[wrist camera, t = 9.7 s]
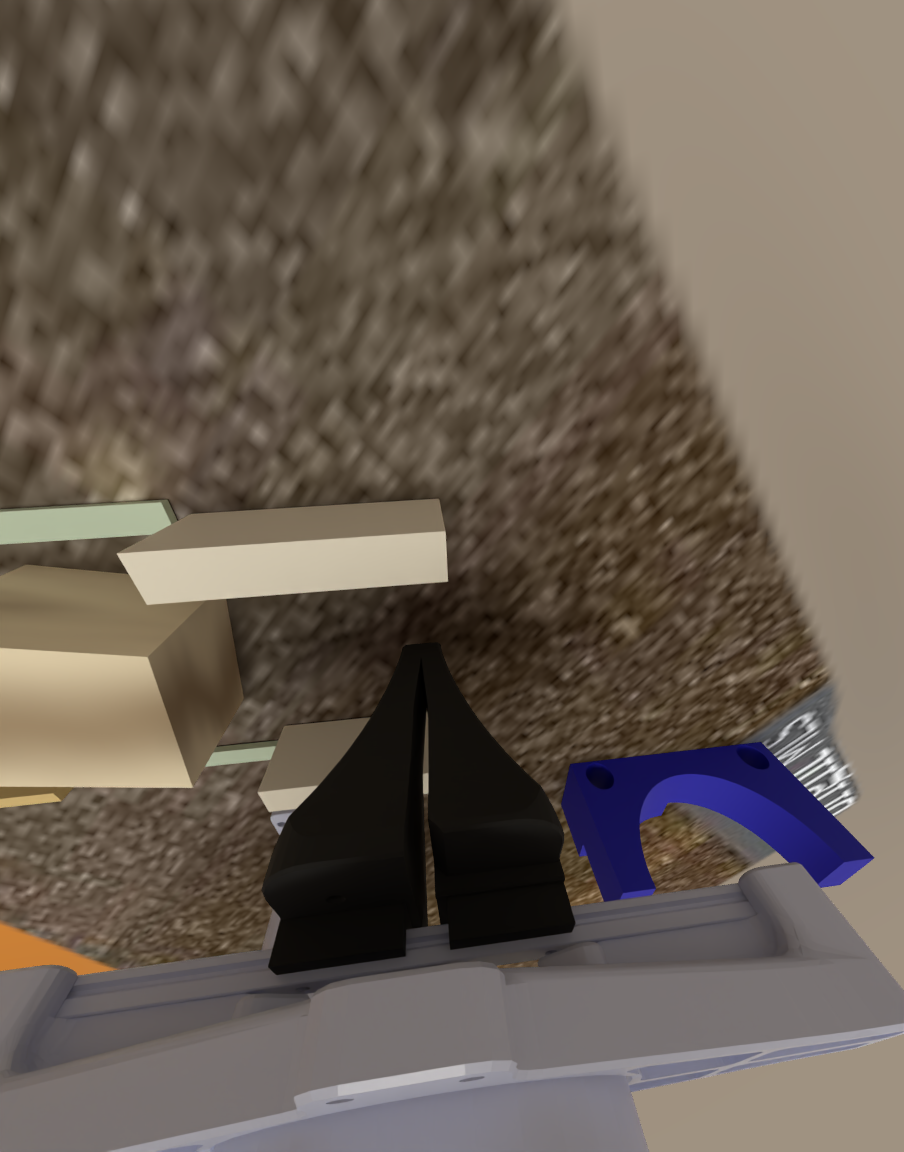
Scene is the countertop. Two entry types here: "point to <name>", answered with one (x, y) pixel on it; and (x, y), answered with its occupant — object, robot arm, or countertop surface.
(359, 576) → the cream parallel guide rails
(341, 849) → the robot arm
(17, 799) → the open-sided tray
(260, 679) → the countertop surface
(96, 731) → the beech block
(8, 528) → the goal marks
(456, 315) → the countertop surface
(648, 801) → the blue arch block
